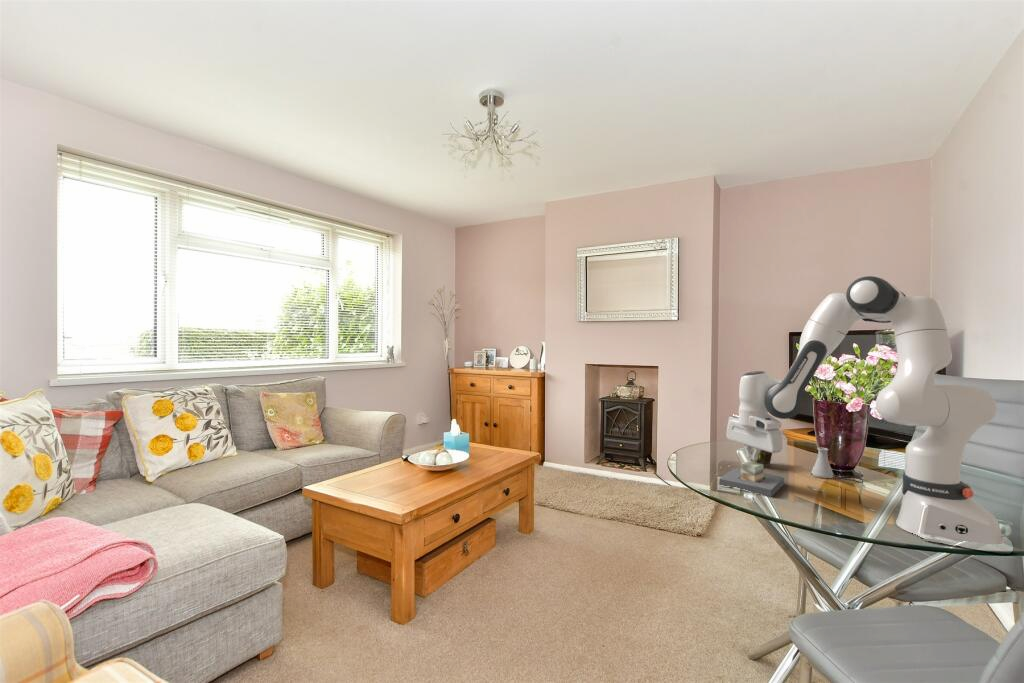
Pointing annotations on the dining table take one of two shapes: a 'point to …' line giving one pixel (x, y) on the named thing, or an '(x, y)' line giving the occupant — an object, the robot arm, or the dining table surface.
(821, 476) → the flask
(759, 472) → the faceted block
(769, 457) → the ceramic cup
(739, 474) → the pocket plate
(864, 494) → the dining table surface
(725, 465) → the dining table surface
